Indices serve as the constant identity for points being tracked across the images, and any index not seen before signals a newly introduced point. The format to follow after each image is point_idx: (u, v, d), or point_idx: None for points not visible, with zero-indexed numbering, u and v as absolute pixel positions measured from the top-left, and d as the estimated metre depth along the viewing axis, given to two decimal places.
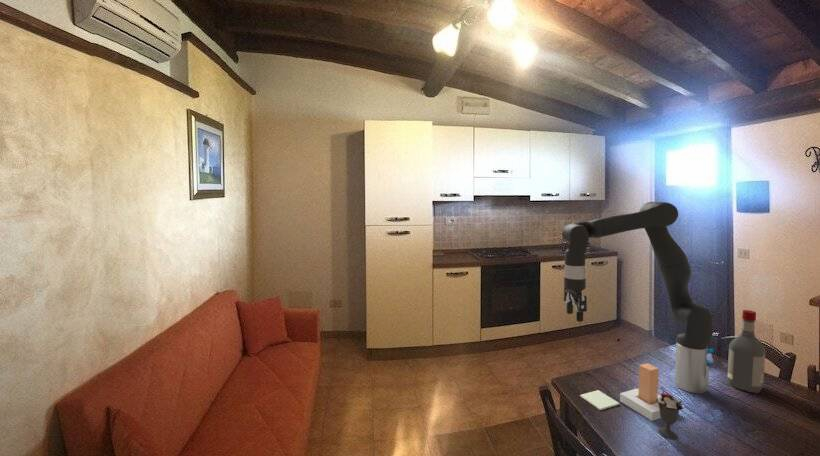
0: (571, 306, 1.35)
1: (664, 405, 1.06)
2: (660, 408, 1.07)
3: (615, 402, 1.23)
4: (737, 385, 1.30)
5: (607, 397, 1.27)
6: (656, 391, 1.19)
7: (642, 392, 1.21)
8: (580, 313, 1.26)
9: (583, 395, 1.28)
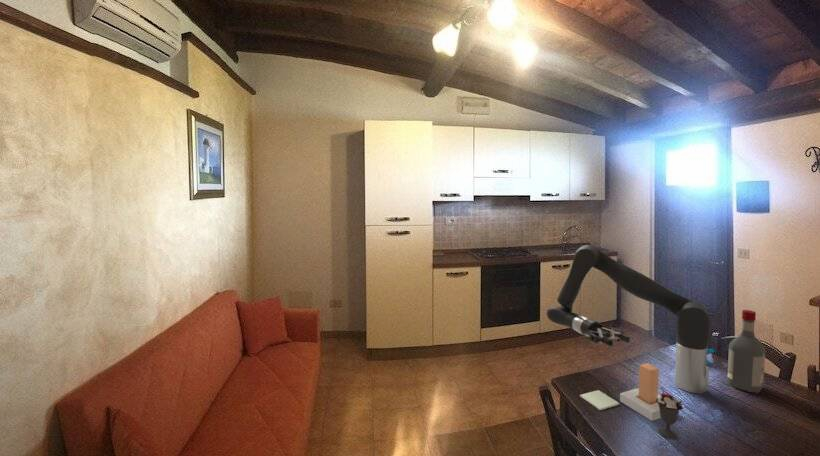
0: (621, 336, 1.34)
1: (664, 405, 1.06)
2: (660, 408, 1.07)
3: (615, 402, 1.23)
4: (737, 385, 1.30)
5: (607, 397, 1.27)
6: (656, 391, 1.19)
7: (642, 392, 1.21)
8: (602, 341, 1.32)
9: (583, 395, 1.28)
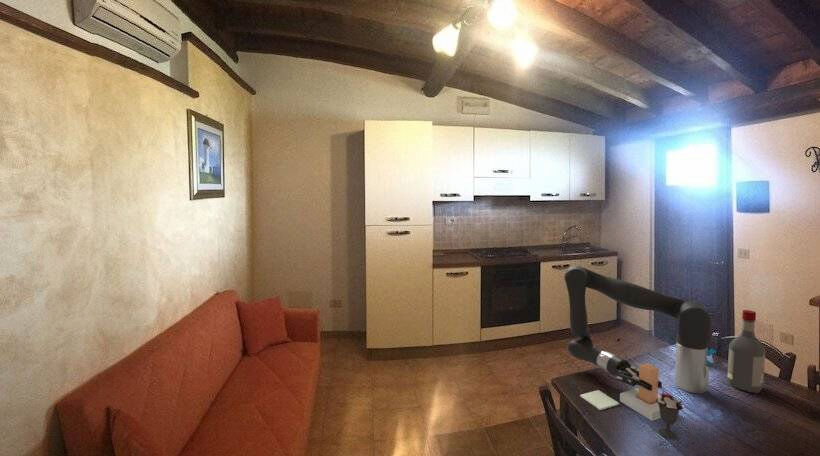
0: None
1: (664, 405, 1.06)
2: (660, 408, 1.07)
3: (615, 402, 1.23)
4: (737, 385, 1.30)
5: (607, 397, 1.27)
6: (656, 391, 1.19)
7: (642, 392, 1.21)
8: (640, 384, 1.20)
9: (583, 395, 1.28)
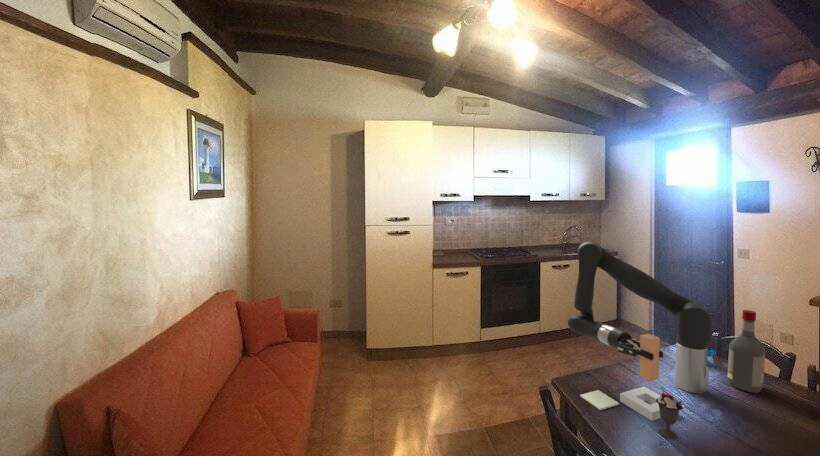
0: None
1: (664, 405, 1.06)
2: (660, 408, 1.07)
3: (615, 402, 1.23)
4: (737, 385, 1.30)
5: (607, 397, 1.27)
6: (657, 361, 1.18)
7: (643, 362, 1.20)
8: (641, 354, 1.19)
9: (583, 395, 1.28)
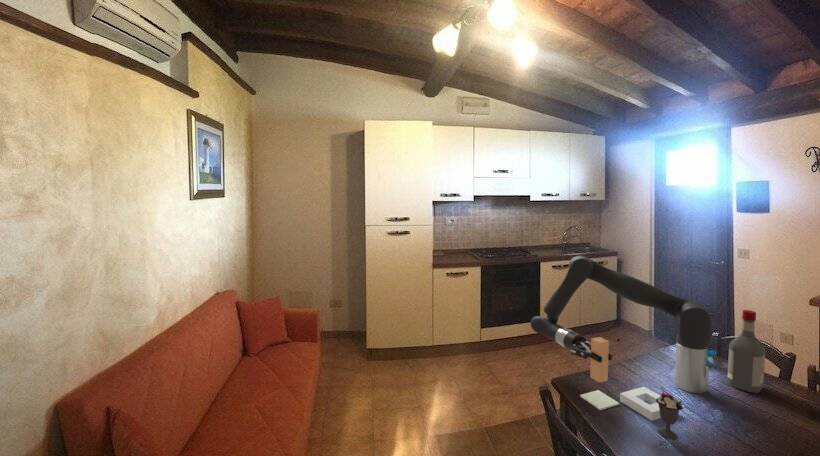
0: None
1: (664, 405, 1.06)
2: (660, 408, 1.07)
3: (615, 402, 1.23)
4: (737, 385, 1.30)
5: (607, 397, 1.27)
6: (606, 363, 1.23)
7: (593, 364, 1.25)
8: (591, 356, 1.24)
9: (583, 395, 1.28)
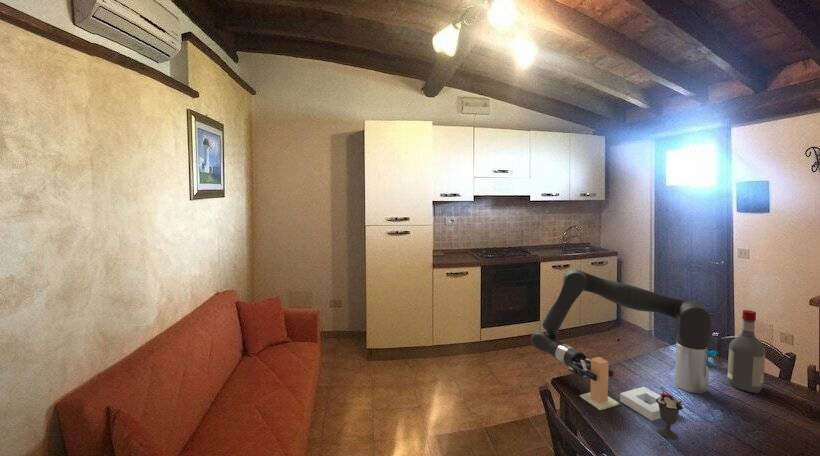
0: None
1: (664, 405, 1.06)
2: (660, 408, 1.07)
3: (615, 402, 1.23)
4: (737, 385, 1.30)
5: None
6: (606, 384, 1.24)
7: (593, 385, 1.25)
8: (586, 375, 1.25)
9: (583, 395, 1.28)
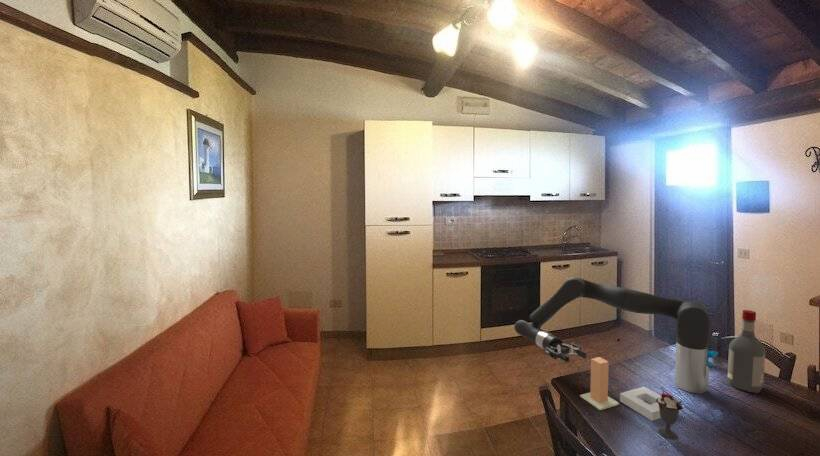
0: (579, 352, 1.39)
1: (664, 405, 1.06)
2: (660, 408, 1.07)
3: (615, 402, 1.23)
4: (737, 385, 1.30)
5: None
6: (606, 384, 1.24)
7: (593, 385, 1.25)
8: (560, 357, 1.37)
9: (583, 395, 1.28)
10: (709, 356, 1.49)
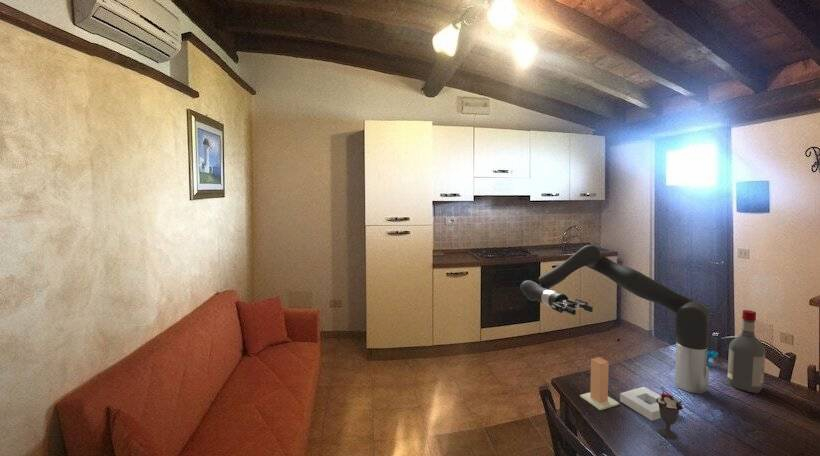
0: (585, 306, 1.39)
1: (664, 405, 1.06)
2: (660, 408, 1.07)
3: (615, 402, 1.23)
4: (737, 385, 1.30)
5: None
6: (606, 384, 1.24)
7: (593, 385, 1.25)
8: (566, 310, 1.37)
9: (583, 395, 1.28)
10: (709, 356, 1.49)
